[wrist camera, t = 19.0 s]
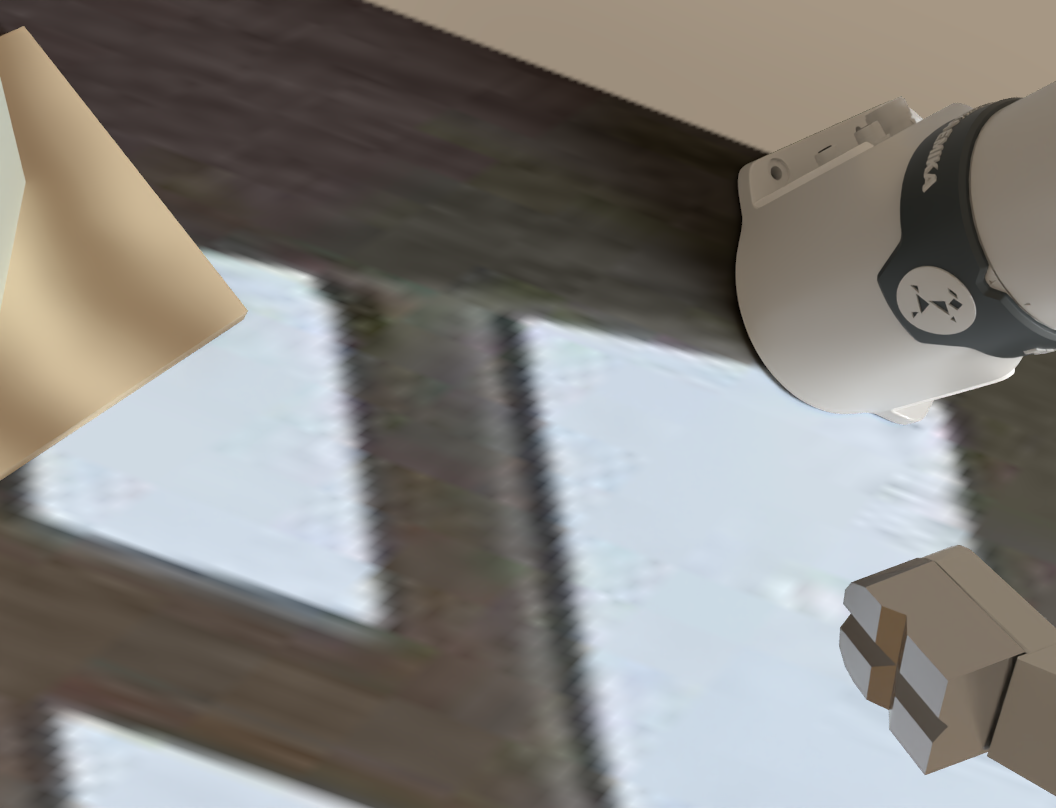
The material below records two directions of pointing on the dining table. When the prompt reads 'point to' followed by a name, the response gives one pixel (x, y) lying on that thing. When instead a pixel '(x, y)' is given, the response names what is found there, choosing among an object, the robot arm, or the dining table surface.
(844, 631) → the robot arm
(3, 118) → the sage block
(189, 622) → the dining table surface
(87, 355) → the cutting board
